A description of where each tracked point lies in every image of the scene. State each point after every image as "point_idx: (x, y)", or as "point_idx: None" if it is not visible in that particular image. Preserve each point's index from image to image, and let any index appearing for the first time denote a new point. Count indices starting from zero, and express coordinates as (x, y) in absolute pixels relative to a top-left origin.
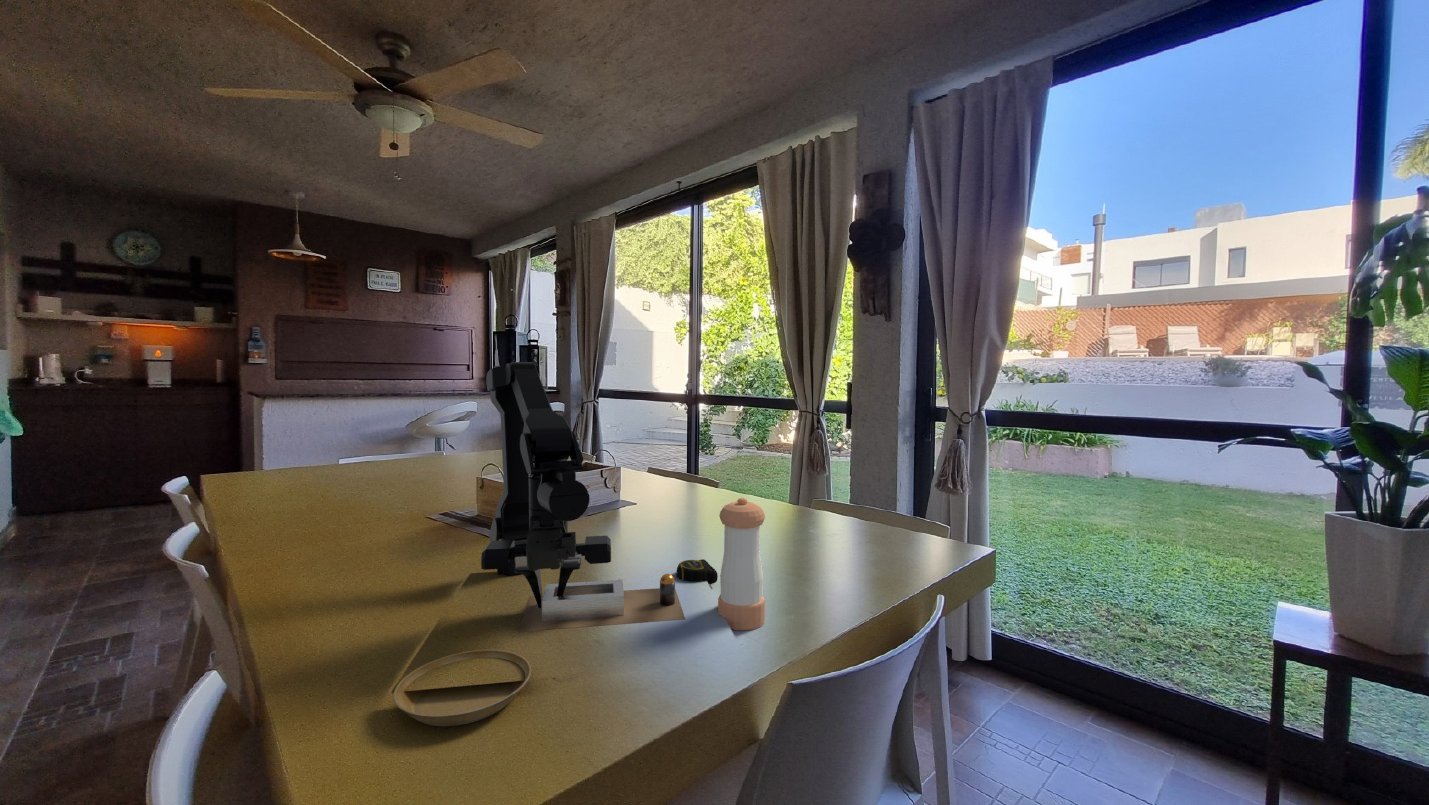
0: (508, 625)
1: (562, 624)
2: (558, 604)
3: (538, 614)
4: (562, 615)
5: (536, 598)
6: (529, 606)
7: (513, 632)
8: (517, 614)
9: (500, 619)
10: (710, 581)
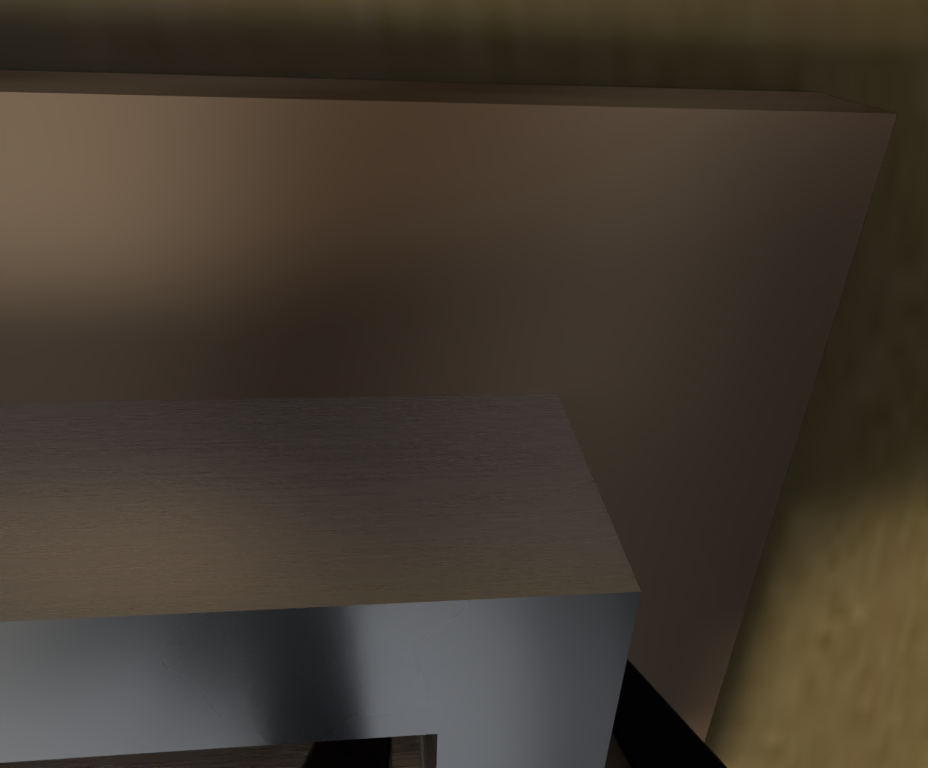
0: (844, 503)
1: (259, 243)
2: (325, 544)
3: None
4: (278, 429)
5: (685, 743)
6: None
7: (823, 356)
8: (743, 676)
9: (888, 611)
10: None
